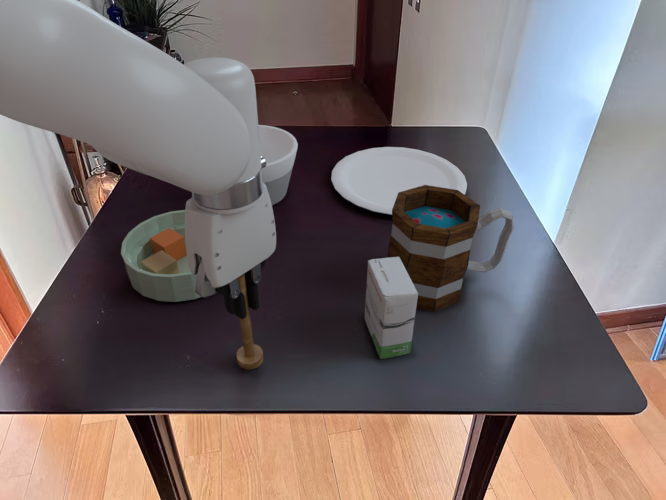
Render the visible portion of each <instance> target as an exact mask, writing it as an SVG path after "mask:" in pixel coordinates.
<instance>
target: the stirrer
mask: <svg viewBox="0 0 666 500" xmlns="http://www.w3.org/2000/svg"><path fill="white" fill-rule="evenodd" d="M238 284H239V289H240V292H241V293H243V294H244V296H245V304H246V313H247V316H246V318H244V319H243V320H242V319H240V318H239V317H238V320H239V326H240V335H241V340H242V341H241V342H242V346H240V348H238V350H237V351H236V361H237V365H238V366H239V367H240V368H241V369H244V370H254V369H257V368H258V367H260V366H261V365H262V364H263V362H264V358H265V357H264V351H263V349H262V347H261V346H260V345H258V344H255V343H254V336H253V329H252V322H251V313H250V307H249V305H248V297H247V290H246V282H245V275H244V274H242V275H241V276H239V277H238Z"/></svg>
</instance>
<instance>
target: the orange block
mask: <svg viewBox="0 0 666 500" xmlns="http://www.w3.org/2000/svg"><path fill="white" fill-rule="evenodd" d="M150 241H151V245H152V249H153V253H154V254H155V253H157V252H159V251H161V250H162V251H164V252H165V253H167V254H168V255H169V256H171V257H172V258H174V259H175V260H176V261H178V260H180V259H181V258H183V257H185V256H186V255H187V251H186V246H185V241H184V237H183V236H182V235H180V234H178V233H177V232H175V231H173V230H172V229H170V228H168V229H166V230H164V231H162V232H160V233H159V234H157V235H155V236H153V237H151V238H150Z"/></svg>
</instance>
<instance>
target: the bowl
mask: <svg viewBox="0 0 666 500" xmlns="http://www.w3.org/2000/svg"><path fill="white" fill-rule="evenodd" d="M258 126H259V140H260V154H261V156H262V157H264V159H265V160H266V166H265V167H264V168H262V179H263V183H264V184H265V185H266V188H267V190H268V193H269V197H270V200H271V204H272V206H274V205H275V204H278V203H279V202H281V201H282V200H283V199H284V198H285V197H286V195H287V192H288V188H289V184H290V181H291V180H290V179H291V177H292V172H293V167H294V164H295V160H296V156H297V152H298V147H299V143H298V141H297V138H296V137H295V135H293V134H292V133H290V132H289V131H287V130H285V129H283V128H280V127H277V126H272V125H265V124H258Z"/></svg>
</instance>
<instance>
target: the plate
mask: <svg viewBox="0 0 666 500" xmlns="http://www.w3.org/2000/svg"><path fill="white" fill-rule="evenodd" d="M330 180H331V184H332V186H333V188H334V190H335V191H336V192H337V193H338V194H339V195H340V196H341V198H343V199H344V200H345V201H348V202H349V203H351V204H353V205H355V206H356V207H359V208H361V209H363V210H367V211H370V212H373V213H377V214H383V215H388V216H392V209H393V206H394V203H395V200H396V198H397V195H398V193H399V192H402V191H406V190H409V189H413V188H416V187H419V186H423V185H429V186H436V187H442V188H448V189H454V190H458V191H460V192H461V193H463V194H464V195H465V196H466V193H467V187H468V183H467V180H466V176H465V174H464V173H463V172H462V171H461V169H460V168H458V166H456V164H455V165H454V164H453V163H452V162H450V161H449V160H447V159H446V158H443V157H441V156H440V155H437V154H434V153H431V152H427V151H424V150H421V149H417V148H416V149H415V148H409V147H404V146H403V147H401V146H383V147H372V148H371V147H370V148H366V149H363V150H357V151H356V152H353V153H351V154H349V155H345V156H344V157H343V158H342V159H341V160H339V161H338V162H337V163H336V164H335V165H334V167H333V169H332V170H331V178H330Z"/></svg>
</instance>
